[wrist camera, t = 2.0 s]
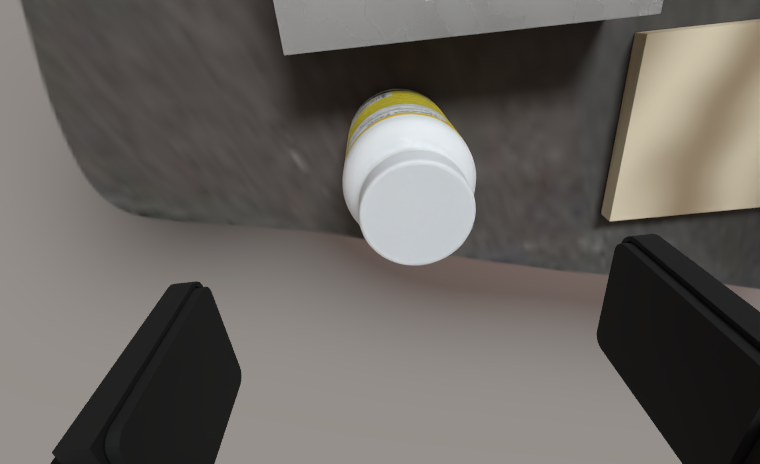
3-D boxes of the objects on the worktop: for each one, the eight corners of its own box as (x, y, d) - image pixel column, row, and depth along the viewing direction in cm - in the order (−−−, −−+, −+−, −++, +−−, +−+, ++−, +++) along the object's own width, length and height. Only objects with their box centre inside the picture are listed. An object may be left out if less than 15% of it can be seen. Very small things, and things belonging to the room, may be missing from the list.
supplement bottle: (434, 189, 24) (470, 292, 15) (343, 175, 23) (326, 273, 14) (458, 95, 21) (519, 154, 12) (356, 77, 20) (346, 125, 12)
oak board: (845, 9, 19) (867, 9, 18) (768, 197, 24) (783, 205, 23) (635, 32, 20) (647, 33, 19) (601, 213, 24) (609, 221, 24)
